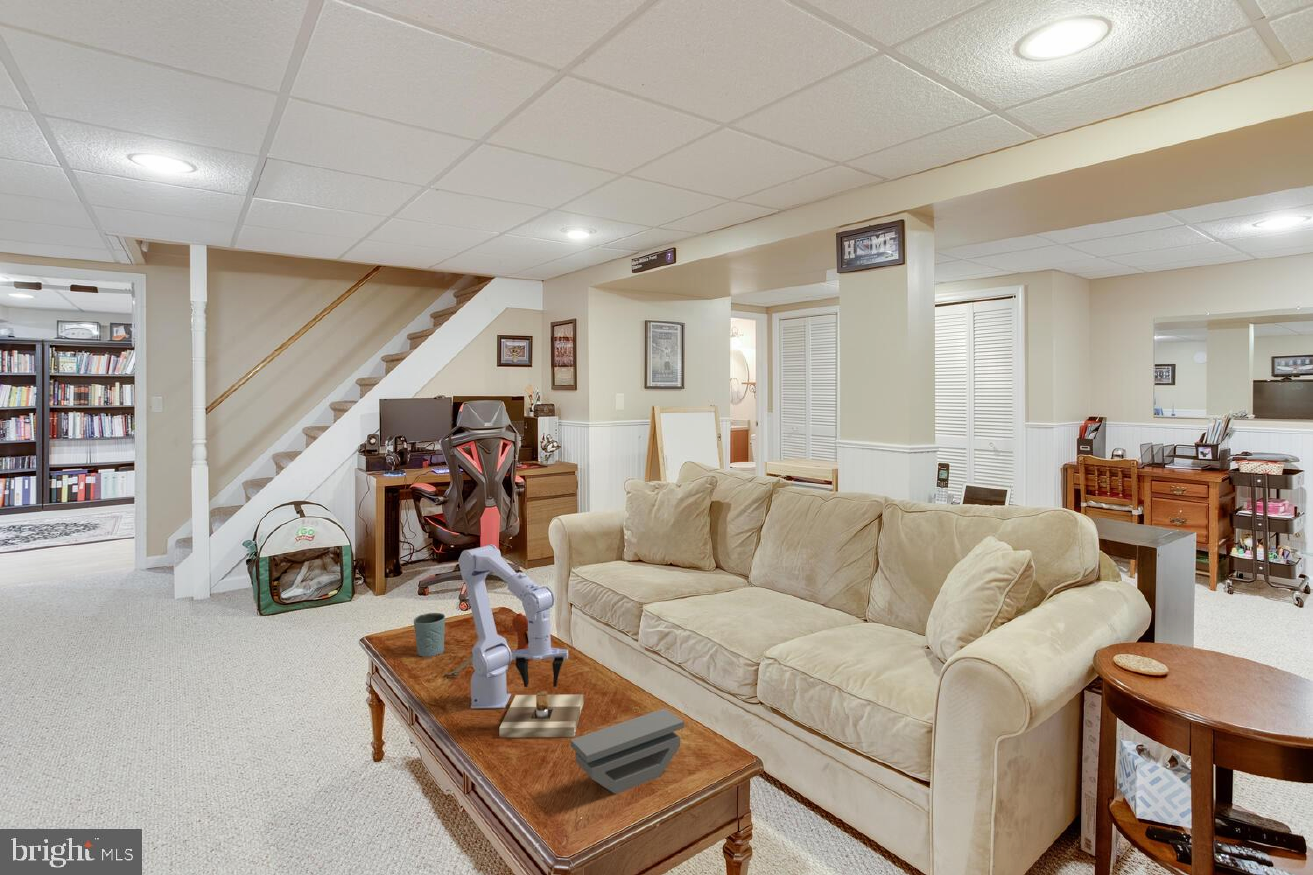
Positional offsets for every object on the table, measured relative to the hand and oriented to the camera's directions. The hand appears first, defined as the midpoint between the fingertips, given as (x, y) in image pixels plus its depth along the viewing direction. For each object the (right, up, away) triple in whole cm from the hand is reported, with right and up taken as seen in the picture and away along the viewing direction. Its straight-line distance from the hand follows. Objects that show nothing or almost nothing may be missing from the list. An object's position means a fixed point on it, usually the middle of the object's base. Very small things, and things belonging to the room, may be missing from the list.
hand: (540, 685), depth 173 cm
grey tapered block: (+24, -12, -24) cm, 36 cm away
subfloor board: (0, -10, +3) cm, 10 cm away
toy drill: (-10, -8, +41) cm, 43 cm away
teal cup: (-46, -8, +50) cm, 68 cm away
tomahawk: (-30, -9, +39) cm, 50 cm away
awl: (0, -10, +1) cm, 10 cm away
